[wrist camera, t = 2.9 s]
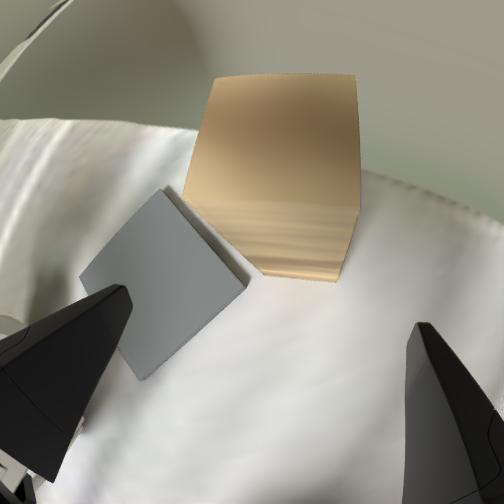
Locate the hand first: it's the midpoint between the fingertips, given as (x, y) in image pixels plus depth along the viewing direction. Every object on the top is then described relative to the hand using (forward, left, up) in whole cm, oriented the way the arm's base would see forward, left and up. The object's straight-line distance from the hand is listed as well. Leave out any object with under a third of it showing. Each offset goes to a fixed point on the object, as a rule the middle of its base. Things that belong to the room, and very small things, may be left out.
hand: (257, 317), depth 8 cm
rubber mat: (-6, +9, -12) cm, 16 cm away
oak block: (+4, +3, -12) cm, 13 cm away
